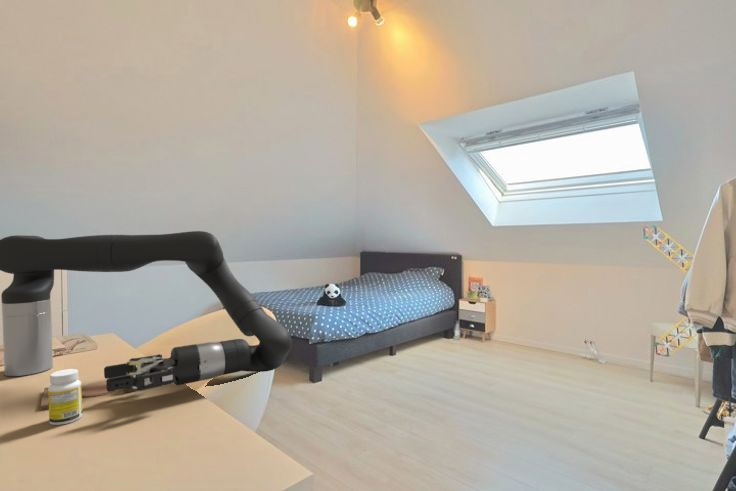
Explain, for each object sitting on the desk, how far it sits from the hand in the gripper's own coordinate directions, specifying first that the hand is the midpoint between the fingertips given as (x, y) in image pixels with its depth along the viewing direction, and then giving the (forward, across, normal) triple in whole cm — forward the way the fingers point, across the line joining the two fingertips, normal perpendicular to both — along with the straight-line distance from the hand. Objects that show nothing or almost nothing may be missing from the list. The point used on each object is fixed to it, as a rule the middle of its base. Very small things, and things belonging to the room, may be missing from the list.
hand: (105, 378), depth 76 cm
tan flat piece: (0, -14, +6) cm, 15 cm away
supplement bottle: (+6, 0, +6) cm, 8 cm away
